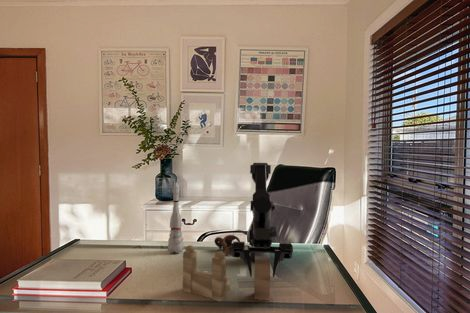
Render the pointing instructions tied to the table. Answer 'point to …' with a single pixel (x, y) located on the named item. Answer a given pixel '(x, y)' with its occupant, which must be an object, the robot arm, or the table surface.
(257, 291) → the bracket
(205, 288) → the wooden block tower
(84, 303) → the table surface
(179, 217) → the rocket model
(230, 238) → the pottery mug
